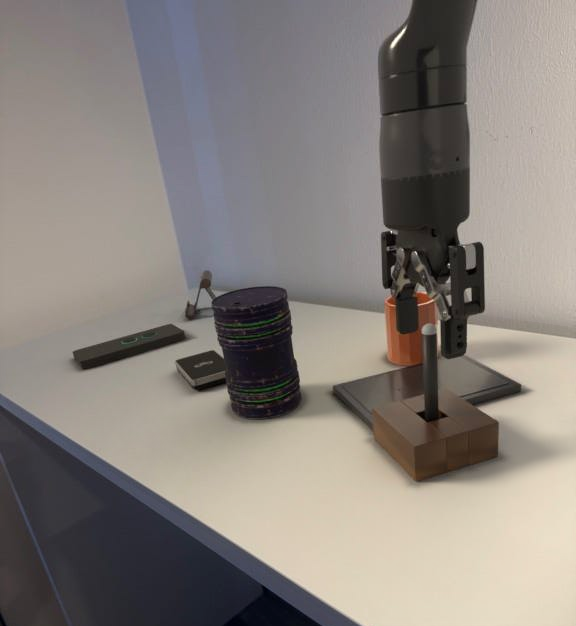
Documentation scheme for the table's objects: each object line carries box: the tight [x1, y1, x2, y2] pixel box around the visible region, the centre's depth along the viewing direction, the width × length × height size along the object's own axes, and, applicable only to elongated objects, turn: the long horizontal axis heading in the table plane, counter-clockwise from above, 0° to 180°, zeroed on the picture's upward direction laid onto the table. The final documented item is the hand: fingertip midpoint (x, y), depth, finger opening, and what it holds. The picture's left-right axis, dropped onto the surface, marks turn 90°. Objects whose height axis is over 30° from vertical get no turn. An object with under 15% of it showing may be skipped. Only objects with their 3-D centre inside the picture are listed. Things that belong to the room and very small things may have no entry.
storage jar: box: [210, 285, 302, 420], centre depth 71 cm, size 10×10×15 cm
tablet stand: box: [184, 270, 217, 321], centre depth 119 cm, size 9×8×8 cm
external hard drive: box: [174, 349, 227, 391], centre depth 86 cm, size 7×11×2 cm, turn 25°
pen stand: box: [372, 388, 500, 482], centre depth 57 cm, size 9×9×4 cm
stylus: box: [422, 323, 439, 423], centre depth 55 cm, size 1×1×14 cm
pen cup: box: [383, 291, 439, 367], centre depth 80 cm, size 7×7×9 cm
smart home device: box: [72, 323, 186, 370], centre depth 104 cm, size 8×2×20 cm
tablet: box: [332, 354, 522, 433], centre depth 70 cm, size 20×13×1 cm, turn 107°
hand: (428, 343), depth 53 cm, fingers open, 8 cm apart
